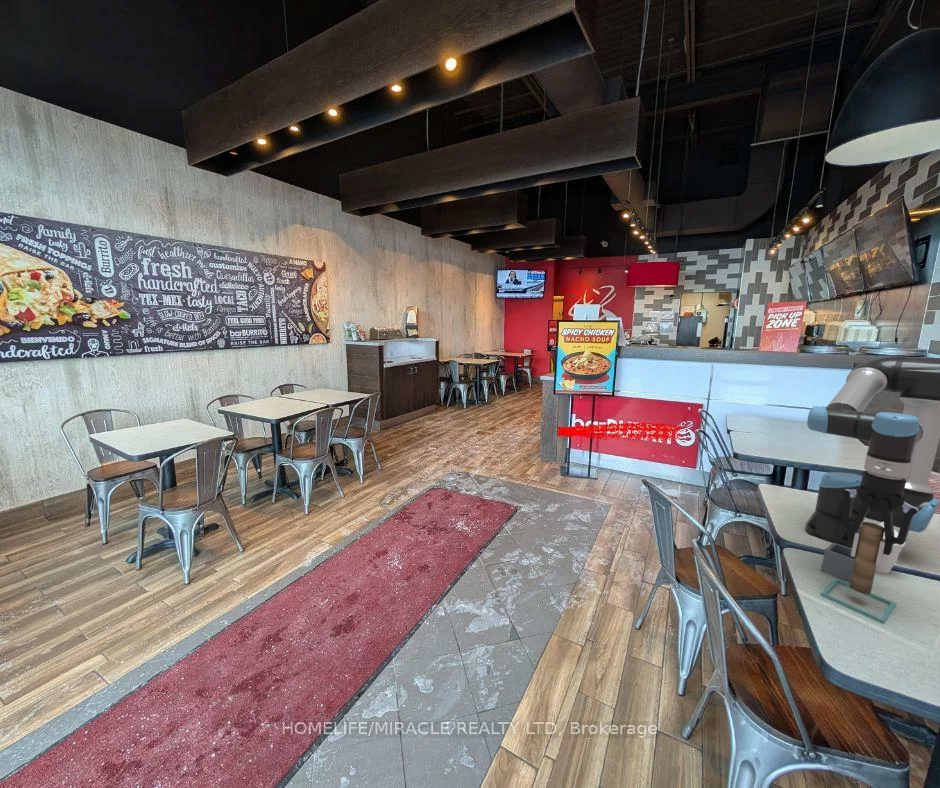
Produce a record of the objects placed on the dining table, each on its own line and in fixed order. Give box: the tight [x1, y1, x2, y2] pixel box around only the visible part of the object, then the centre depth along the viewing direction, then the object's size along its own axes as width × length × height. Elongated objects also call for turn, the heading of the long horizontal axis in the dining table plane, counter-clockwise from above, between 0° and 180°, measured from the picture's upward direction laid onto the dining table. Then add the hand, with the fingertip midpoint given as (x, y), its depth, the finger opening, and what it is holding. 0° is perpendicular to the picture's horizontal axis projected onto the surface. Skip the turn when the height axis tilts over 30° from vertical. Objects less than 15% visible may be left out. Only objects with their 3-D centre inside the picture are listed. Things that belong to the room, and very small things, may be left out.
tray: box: [819, 577, 897, 625], centre depth 102 cm, size 12×12×2 cm
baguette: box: [849, 521, 884, 595], centre depth 100 cm, size 4×4×18 cm
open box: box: [820, 542, 855, 584], centre depth 113 cm, size 8×8×8 cm
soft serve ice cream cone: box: [875, 522, 906, 575], centre depth 115 cm, size 8×8×16 cm
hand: (866, 559), depth 100 cm, fingers closed on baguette, 4 cm apart
